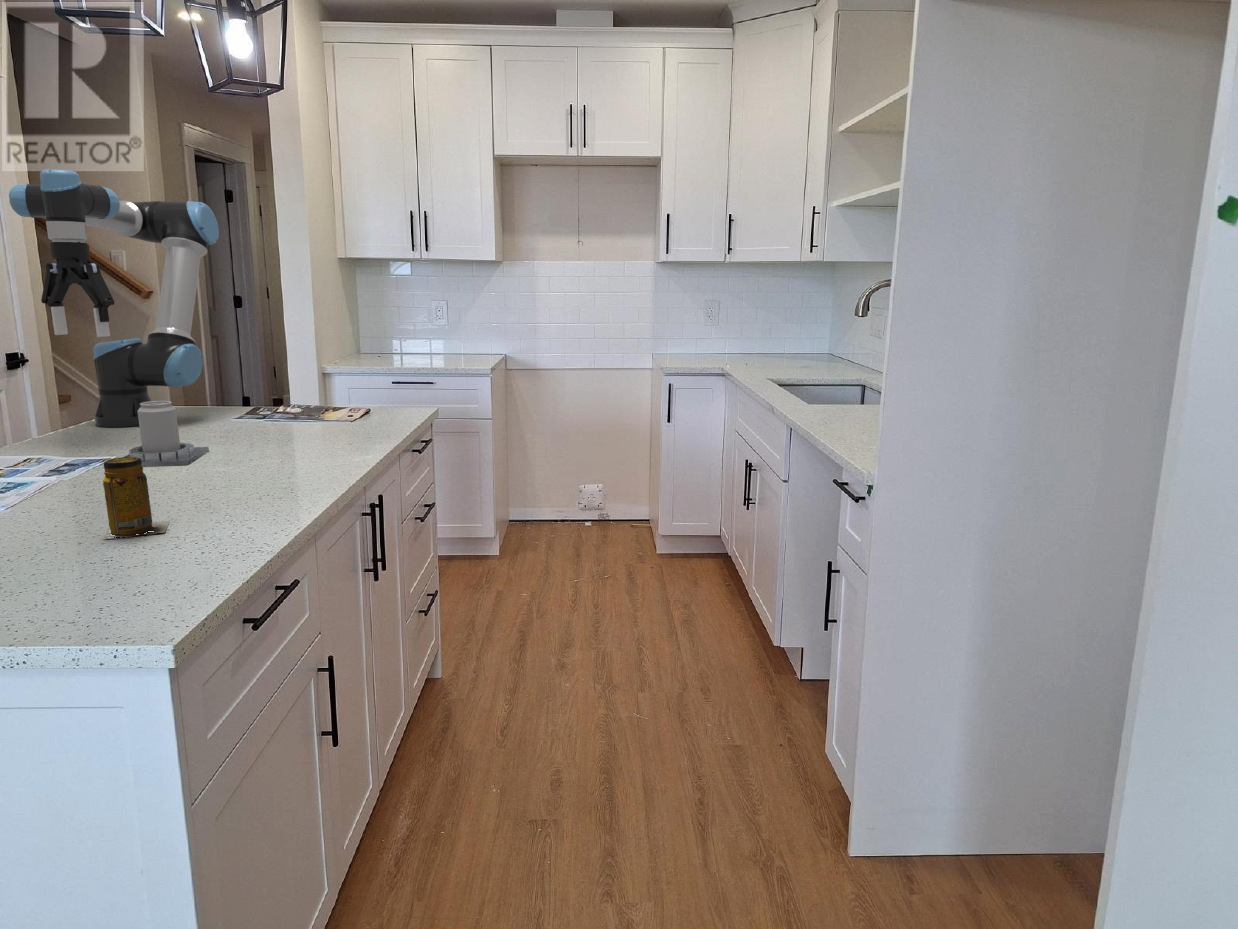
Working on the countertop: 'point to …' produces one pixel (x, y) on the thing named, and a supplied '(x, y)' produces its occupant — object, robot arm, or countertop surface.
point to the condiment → (128, 499)
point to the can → (158, 426)
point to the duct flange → (169, 455)
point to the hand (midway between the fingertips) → (82, 335)
